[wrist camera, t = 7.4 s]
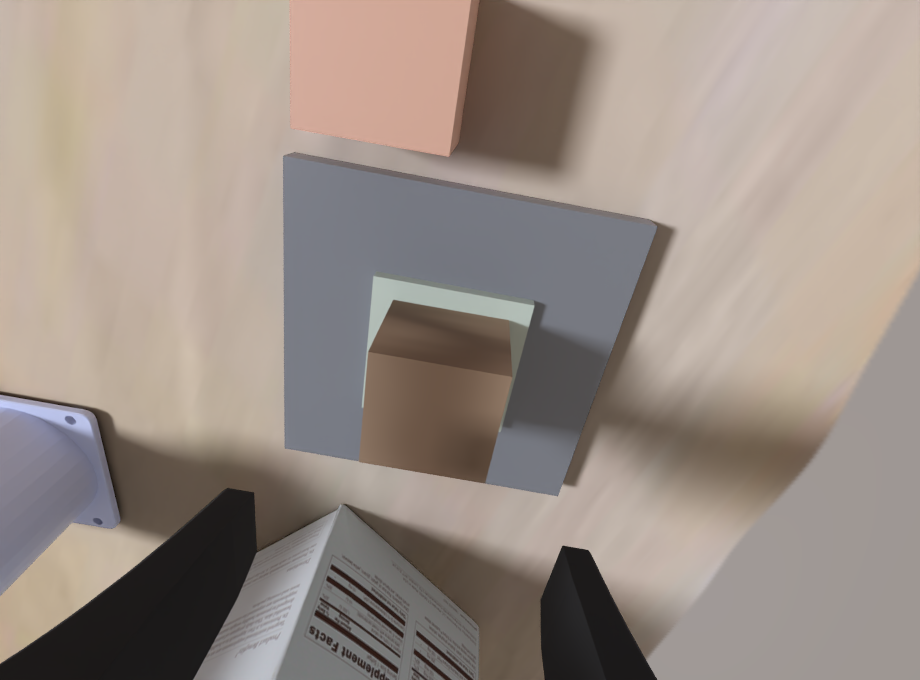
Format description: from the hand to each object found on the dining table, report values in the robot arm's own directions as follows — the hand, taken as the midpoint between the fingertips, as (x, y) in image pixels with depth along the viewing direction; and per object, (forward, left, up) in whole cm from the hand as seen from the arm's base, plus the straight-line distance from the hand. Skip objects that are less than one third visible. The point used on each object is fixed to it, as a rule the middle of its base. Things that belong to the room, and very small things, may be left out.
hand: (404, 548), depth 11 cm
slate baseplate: (0, 0, -10) cm, 10 cm away
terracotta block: (-3, +10, -10) cm, 15 cm away
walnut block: (0, 0, -9) cm, 9 cm away
